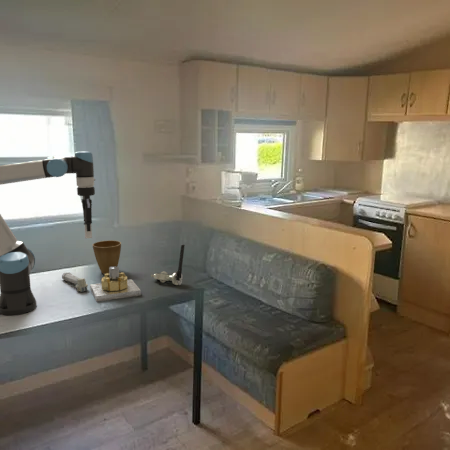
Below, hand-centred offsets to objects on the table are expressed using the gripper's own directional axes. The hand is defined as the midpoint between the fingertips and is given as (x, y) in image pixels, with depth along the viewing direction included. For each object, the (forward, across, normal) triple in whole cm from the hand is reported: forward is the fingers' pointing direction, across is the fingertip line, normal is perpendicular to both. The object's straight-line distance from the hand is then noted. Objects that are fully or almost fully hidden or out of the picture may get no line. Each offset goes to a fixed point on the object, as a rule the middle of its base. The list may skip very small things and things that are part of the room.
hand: (88, 237), depth 211 cm
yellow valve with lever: (+24, 0, -11) cm, 26 cm away
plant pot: (+27, +30, -13) cm, 42 cm away
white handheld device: (+27, +15, +6) cm, 31 cm away
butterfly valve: (+27, 0, -36) cm, 45 cm away
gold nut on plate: (+26, -4, -10) cm, 29 cm away
